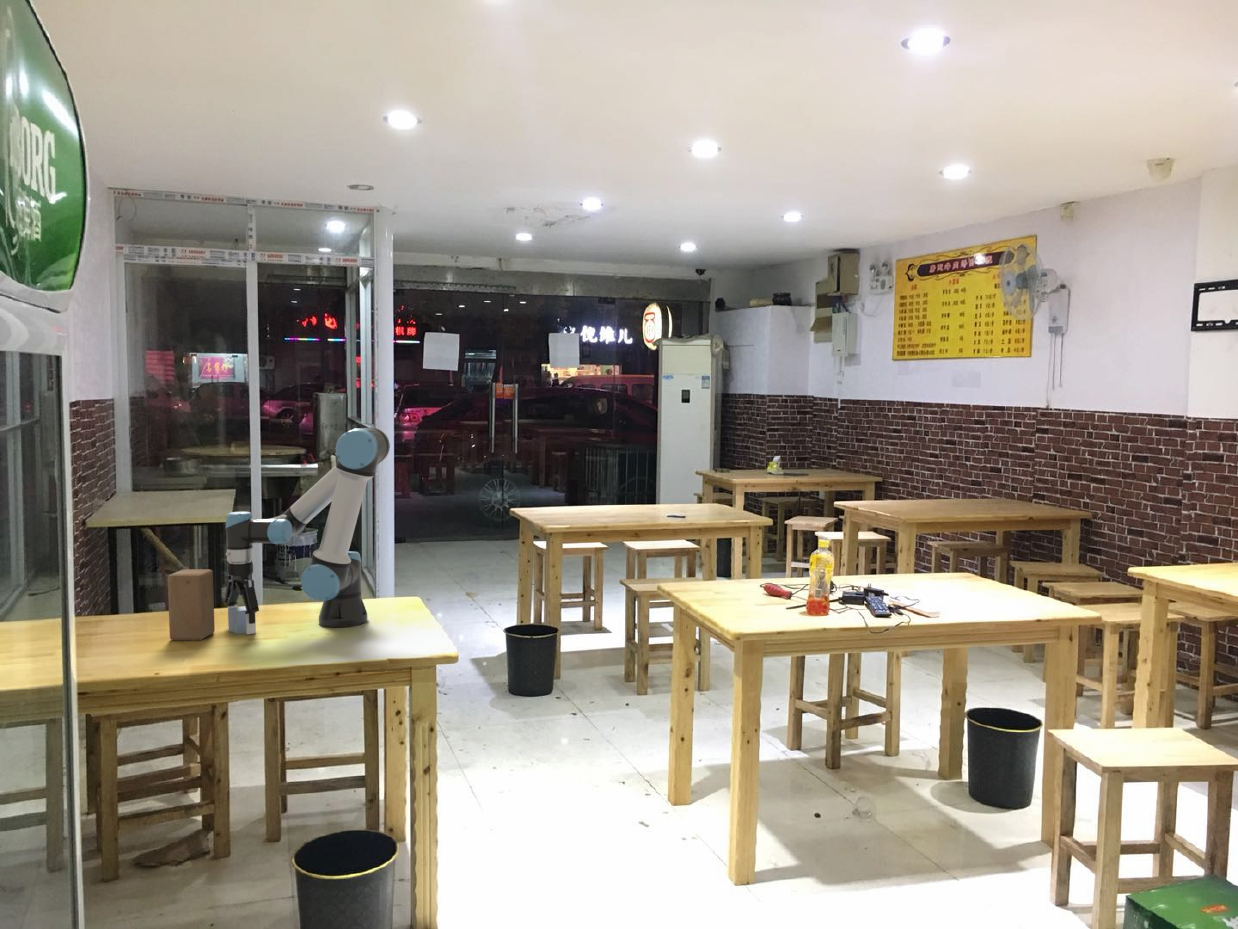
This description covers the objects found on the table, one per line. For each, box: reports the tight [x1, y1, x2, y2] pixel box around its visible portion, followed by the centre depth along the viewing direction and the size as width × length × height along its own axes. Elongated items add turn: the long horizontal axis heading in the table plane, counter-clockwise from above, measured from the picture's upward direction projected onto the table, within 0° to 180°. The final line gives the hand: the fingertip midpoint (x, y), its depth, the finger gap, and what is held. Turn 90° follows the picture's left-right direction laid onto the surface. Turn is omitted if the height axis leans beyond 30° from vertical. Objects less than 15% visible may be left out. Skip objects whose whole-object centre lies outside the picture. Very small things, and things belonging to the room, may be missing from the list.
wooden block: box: [167, 568, 215, 641], centre depth 295 cm, size 10×10×20 cm
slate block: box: [227, 605, 247, 635], centre depth 303 cm, size 6×6×7 cm
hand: (241, 630), depth 303 cm, fingers open, 12 cm apart
